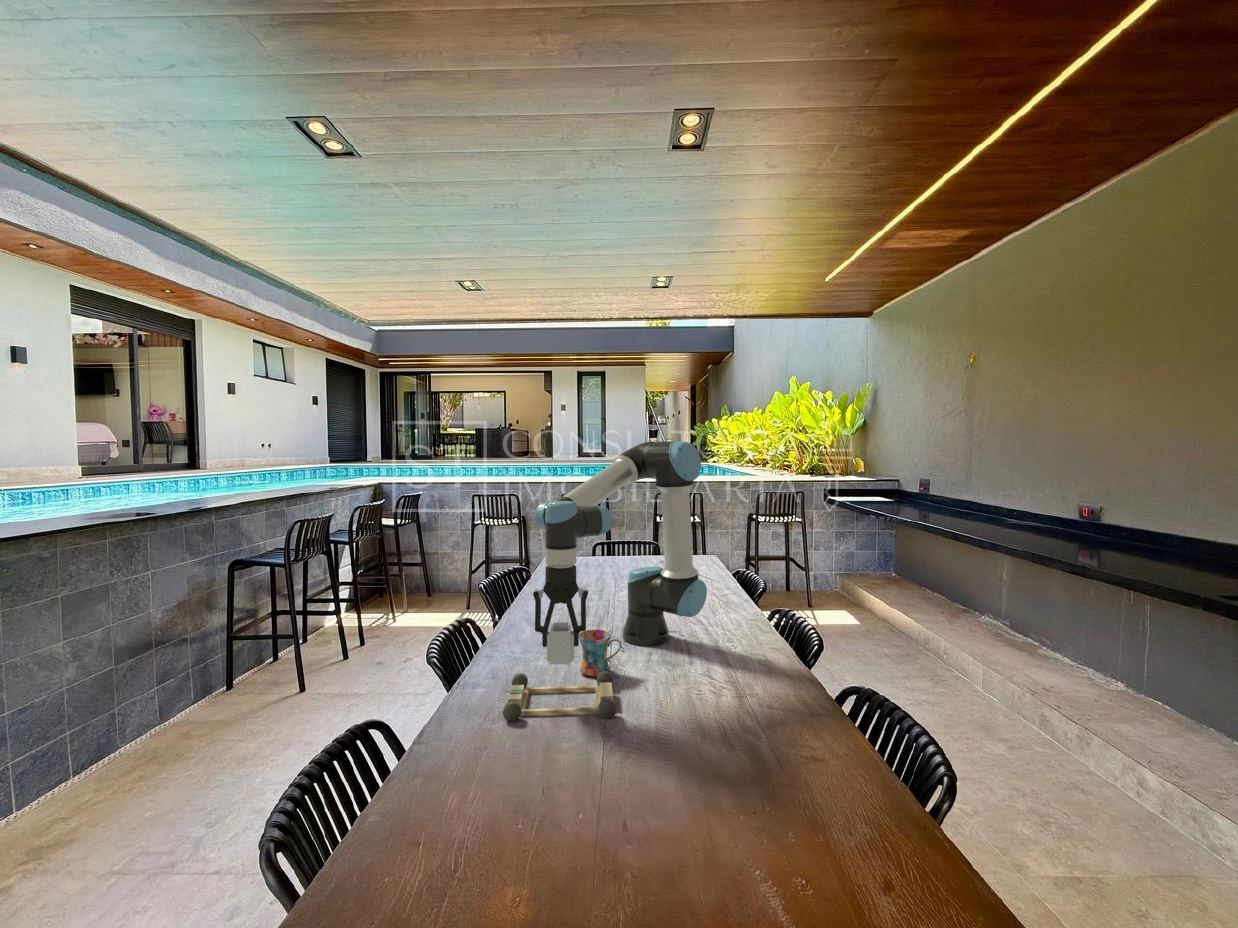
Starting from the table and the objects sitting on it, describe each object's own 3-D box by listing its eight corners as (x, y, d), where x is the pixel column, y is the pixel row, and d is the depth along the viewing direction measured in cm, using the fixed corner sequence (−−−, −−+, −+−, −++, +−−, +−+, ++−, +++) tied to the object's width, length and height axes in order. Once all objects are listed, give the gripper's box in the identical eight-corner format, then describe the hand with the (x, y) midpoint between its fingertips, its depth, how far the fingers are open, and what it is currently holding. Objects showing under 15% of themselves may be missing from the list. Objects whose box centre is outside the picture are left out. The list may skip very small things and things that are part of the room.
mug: (576, 679, 153) (576, 640, 152) (579, 665, 162) (579, 629, 162) (621, 679, 153) (621, 640, 152) (621, 665, 162) (621, 629, 162)
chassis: (612, 685, 149) (612, 670, 149) (616, 718, 131) (616, 701, 131) (512, 688, 147) (512, 673, 147) (502, 722, 129) (502, 704, 129)
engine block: (571, 656, 141) (571, 621, 141) (570, 663, 136) (570, 627, 136) (550, 656, 141) (551, 621, 140) (549, 664, 136) (549, 628, 135)
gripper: (597, 561, 142) (596, 653, 143) (525, 561, 141) (524, 654, 141) (598, 567, 135) (597, 664, 135) (522, 568, 133) (521, 665, 134)
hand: (560, 658), depth 138 cm, fingers closed on engine block, 5 cm apart
